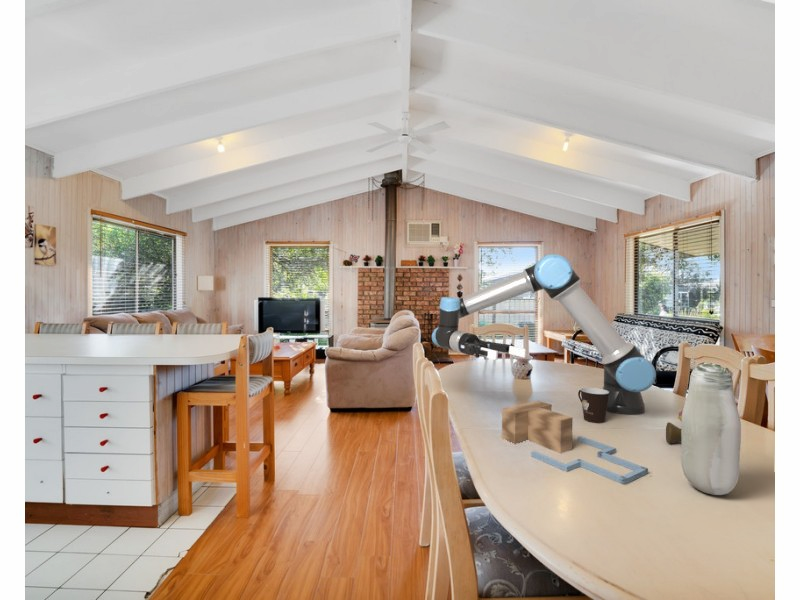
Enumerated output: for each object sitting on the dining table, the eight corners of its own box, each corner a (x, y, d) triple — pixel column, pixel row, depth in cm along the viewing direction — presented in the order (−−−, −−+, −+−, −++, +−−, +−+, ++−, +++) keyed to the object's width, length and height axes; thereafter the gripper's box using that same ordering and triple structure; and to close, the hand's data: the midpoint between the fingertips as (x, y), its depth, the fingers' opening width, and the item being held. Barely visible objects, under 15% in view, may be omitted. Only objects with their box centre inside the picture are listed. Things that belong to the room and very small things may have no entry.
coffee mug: (611, 425, 132) (612, 394, 131) (583, 423, 133) (584, 393, 133) (601, 414, 143) (602, 386, 143) (575, 412, 145) (576, 384, 144)
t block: (501, 438, 120) (502, 408, 120) (537, 428, 129) (538, 400, 128) (547, 458, 107) (547, 424, 106) (584, 445, 115) (584, 414, 115)
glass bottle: (749, 504, 84) (753, 370, 83) (695, 500, 86) (698, 368, 85) (720, 481, 94) (723, 361, 93) (671, 478, 95) (674, 360, 94)
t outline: (531, 456, 108) (531, 451, 108) (580, 439, 119) (580, 435, 119) (610, 491, 89) (610, 485, 89) (659, 467, 101) (659, 463, 101)
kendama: (673, 462, 106) (662, 434, 123) (718, 470, 101) (701, 441, 119) (674, 439, 105) (664, 415, 123) (720, 447, 101) (702, 421, 119)
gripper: (488, 351, 153) (535, 363, 135) (437, 355, 139) (482, 368, 121) (490, 332, 152) (537, 341, 135) (439, 333, 138) (484, 344, 121)
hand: (511, 354), depth 128 cm, fingers open, 13 cm apart
